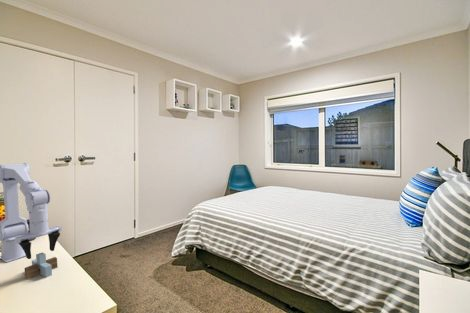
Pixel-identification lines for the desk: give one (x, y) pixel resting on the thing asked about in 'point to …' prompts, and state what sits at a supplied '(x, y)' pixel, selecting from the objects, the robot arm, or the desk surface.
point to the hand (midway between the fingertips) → (40, 254)
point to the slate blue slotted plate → (42, 264)
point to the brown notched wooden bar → (34, 270)
